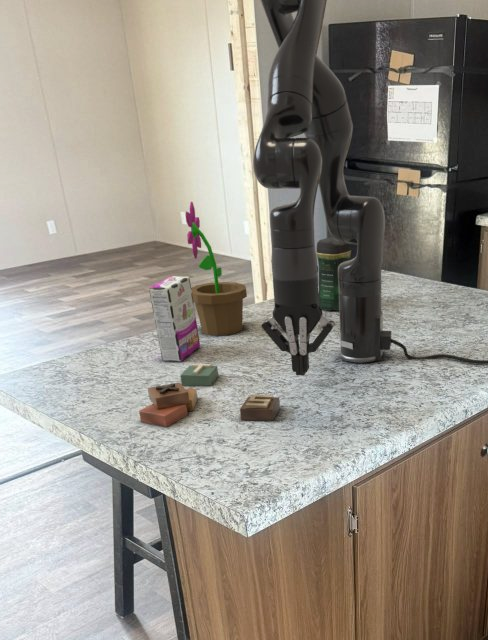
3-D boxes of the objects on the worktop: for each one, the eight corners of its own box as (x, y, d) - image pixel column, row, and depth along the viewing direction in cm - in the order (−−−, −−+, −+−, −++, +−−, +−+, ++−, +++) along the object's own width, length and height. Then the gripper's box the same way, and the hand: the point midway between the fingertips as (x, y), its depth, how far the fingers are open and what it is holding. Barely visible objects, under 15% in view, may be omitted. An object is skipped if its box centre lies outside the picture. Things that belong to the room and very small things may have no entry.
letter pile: (203, 399, 137) (200, 375, 135) (180, 427, 125) (176, 401, 123) (163, 398, 138) (158, 374, 135) (136, 426, 126) (130, 400, 124)
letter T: (218, 375, 148) (216, 363, 147) (210, 385, 143) (208, 372, 142) (191, 375, 149) (189, 362, 148) (181, 385, 144) (179, 372, 143)
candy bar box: (181, 346, 167) (170, 275, 159) (201, 347, 166) (191, 276, 158) (160, 361, 157) (147, 286, 149) (181, 362, 157) (169, 287, 148)
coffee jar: (337, 313, 190) (334, 240, 181) (314, 309, 194) (310, 238, 184) (357, 305, 197) (355, 235, 188) (334, 301, 201) (331, 233, 191)
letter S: (280, 408, 132) (279, 394, 131) (273, 420, 127) (271, 406, 126) (249, 407, 133) (247, 393, 131) (241, 420, 128) (239, 405, 126)
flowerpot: (201, 322, 185) (184, 198, 170) (255, 321, 184) (242, 197, 169) (187, 338, 173) (167, 206, 157) (245, 337, 172) (230, 205, 157)
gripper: (250, 278, 114) (259, 380, 123) (330, 279, 112) (334, 382, 121) (261, 268, 120) (269, 366, 129) (337, 269, 119) (340, 368, 128)
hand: (301, 373), depth 125 cm, fingers closed
